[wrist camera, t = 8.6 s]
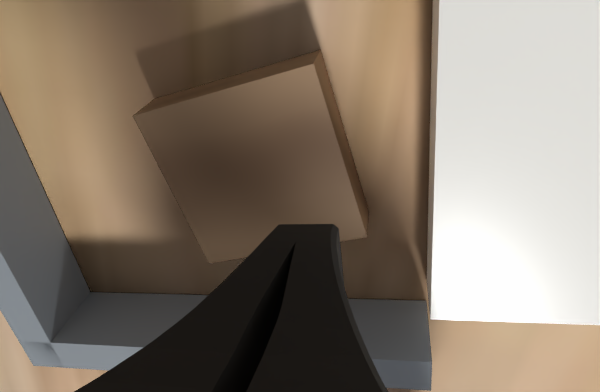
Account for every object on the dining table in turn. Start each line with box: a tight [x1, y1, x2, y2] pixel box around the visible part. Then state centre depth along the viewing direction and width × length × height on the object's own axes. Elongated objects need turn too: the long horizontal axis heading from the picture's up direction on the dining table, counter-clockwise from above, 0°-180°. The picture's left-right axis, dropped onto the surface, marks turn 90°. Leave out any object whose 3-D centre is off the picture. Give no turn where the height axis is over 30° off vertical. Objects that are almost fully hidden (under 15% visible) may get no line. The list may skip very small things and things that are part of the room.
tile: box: [133, 50, 369, 264], centre depth 16 cm, size 6×6×2 cm
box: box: [0, 95, 432, 391], centre depth 15 cm, size 17×16×3 cm
